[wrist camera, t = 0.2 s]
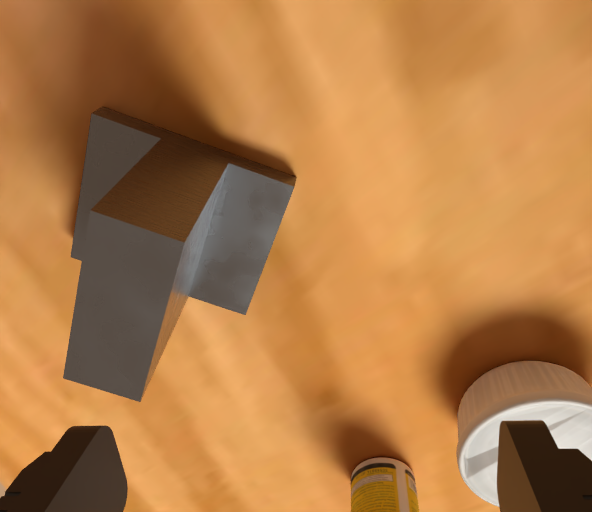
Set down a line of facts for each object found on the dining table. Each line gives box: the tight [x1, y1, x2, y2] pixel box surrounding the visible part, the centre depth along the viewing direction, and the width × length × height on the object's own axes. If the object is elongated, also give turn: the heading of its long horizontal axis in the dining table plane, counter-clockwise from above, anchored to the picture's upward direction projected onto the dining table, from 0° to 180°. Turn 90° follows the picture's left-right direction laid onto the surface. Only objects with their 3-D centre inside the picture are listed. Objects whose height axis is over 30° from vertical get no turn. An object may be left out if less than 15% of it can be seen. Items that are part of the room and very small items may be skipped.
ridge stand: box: [63, 107, 296, 402], centre depth 29 cm, size 10×12×11 cm
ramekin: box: [457, 361, 592, 507], centre depth 37 cm, size 11×11×5 cm
